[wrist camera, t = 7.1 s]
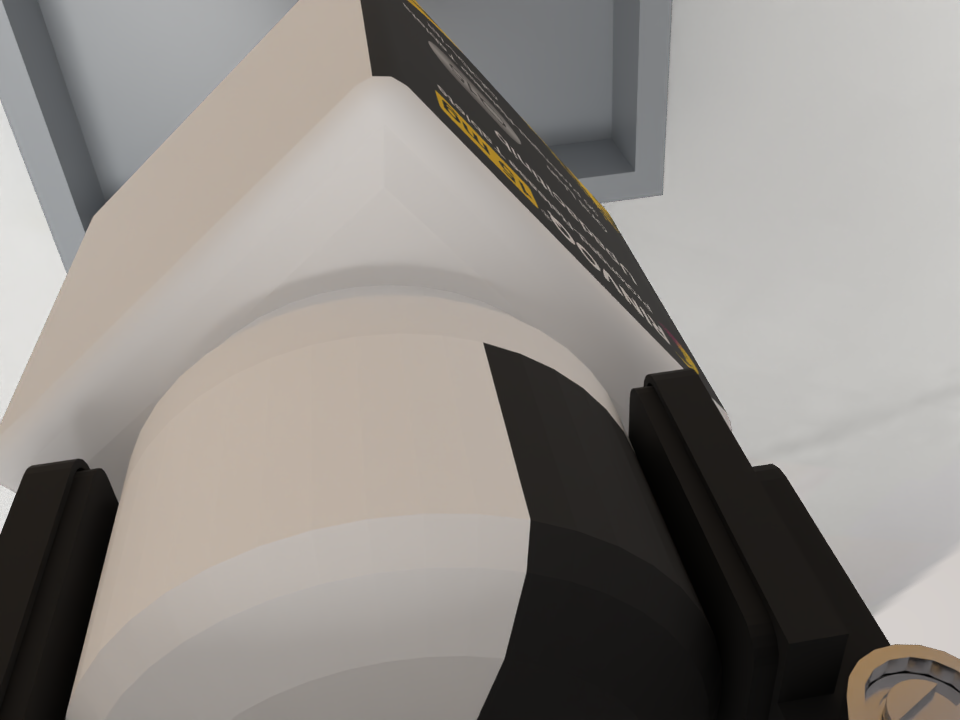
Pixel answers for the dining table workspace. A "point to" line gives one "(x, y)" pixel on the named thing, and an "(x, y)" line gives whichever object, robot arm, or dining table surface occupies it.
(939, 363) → the dining table surface
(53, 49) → the tray
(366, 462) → the medicine bottle
